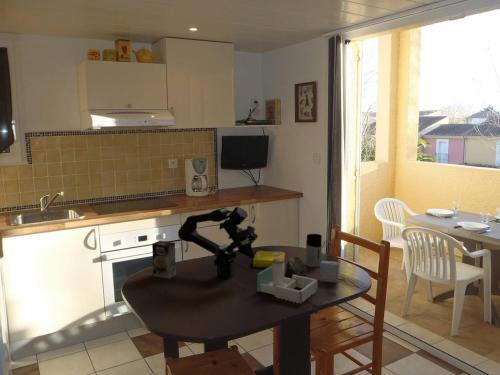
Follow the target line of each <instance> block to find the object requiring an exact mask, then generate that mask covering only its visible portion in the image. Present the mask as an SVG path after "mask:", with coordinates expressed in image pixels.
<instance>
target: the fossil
mask: <svg viewBox="0 0 500 375" xmlns="http://www.w3.org/2000/svg"><path fill="white" fill-rule="evenodd" d="M285 268H286V269H285V276H289V275H291V276H292V275H298V276H302V277H305V276H306V274H307V273H308V267H307V265H306V264H305V263H304V262H303V260H302V259H300V258H299V256H295V255H294V256H292V257H290V258H289V260H288V261H287V263H286V265H285Z"/></svg>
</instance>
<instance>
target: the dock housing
mask: <svg viewBox="0 0 500 375" xmlns="http://www.w3.org/2000/svg"><path fill="white" fill-rule="evenodd" d="M291 279H295V280H297V287H296V288H300V290H298V289H295V288H294V289H290V288H285V287H281V286H277V285H276V286H275V295H274V297H277V298H276V299H279V298H281V299H280V300H283V299H285V300H284V301H287V300H289V301H288V302H291V301H292V302H291V303H295V302H296V303H295V304H299V303H300V304H299V305H301V304H303V303H304V302H305V301H306V300H308V299H309V298H311V295H312V296H313V295H314V294H315V293H317V292H318V289H319V288H318V286H319V282H318V279H317V278H311V277H305V276H298V275H295V274H293V275H291ZM307 298H308V299H307ZM302 302H303V303H302Z"/></svg>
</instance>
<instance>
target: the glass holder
mask: <svg viewBox="0 0 500 375" xmlns="http://www.w3.org/2000/svg"><path fill="white" fill-rule="evenodd" d="M322 239H323V238H322V234H319V233H309V234H307V235H306V243H305V245H306V246H305V250H306V251H305V262H304V265H306V267H307V266H308V267H310V268H311V267H313V268H317V267H319V268H320V263H321V262H322V261H324V259H326V258H327V257H328V256H330V254H331V252H332V249H333V244H332V242H331V241H330V240H328V239H326V240H325V241H323V245H322ZM326 242H328V243H330V250H329V252H328V253H327V255H325V256H324V257H323V258H322V255H323V254H322V253H323V248H325V243H326Z"/></svg>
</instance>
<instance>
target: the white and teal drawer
mask: <svg viewBox="0 0 500 375" xmlns="http://www.w3.org/2000/svg"><path fill="white" fill-rule="evenodd" d="M256 275H257V277H256V278H257V279H256V281H257V283H256V284H257V286H256V287H257V292H259V293H260V292H261V293H265V294H270V295H274V296H275V287H273V271H272V266H270V267H269V268H265V269H264V270H261V271H260V272H258V273H257V274H256ZM284 287H285V288H290V289H294V290H295V289H296V288H298V287H297V280H295V279H292V277H291V278H289V277H286V276H284Z"/></svg>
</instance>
